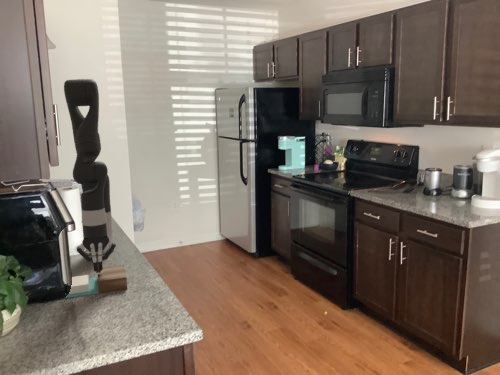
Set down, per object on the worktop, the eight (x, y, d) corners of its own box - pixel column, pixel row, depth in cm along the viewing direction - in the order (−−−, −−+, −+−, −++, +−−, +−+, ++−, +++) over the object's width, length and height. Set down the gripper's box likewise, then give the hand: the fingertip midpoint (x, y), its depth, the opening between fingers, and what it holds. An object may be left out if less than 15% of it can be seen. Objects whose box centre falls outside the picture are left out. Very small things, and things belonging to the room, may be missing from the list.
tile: (88, 274, 149) (88, 281, 150) (69, 277, 147) (70, 284, 148) (88, 284, 141) (88, 291, 141) (68, 287, 139) (69, 294, 139)
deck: (98, 278, 153) (97, 268, 152) (124, 275, 156) (123, 264, 155) (98, 292, 141) (97, 281, 140) (127, 288, 144) (126, 277, 143)
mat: (67, 282, 150) (67, 281, 150) (98, 278, 153) (98, 277, 153) (65, 298, 137) (65, 297, 137) (98, 293, 140) (98, 292, 140)
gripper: (114, 217, 149) (118, 265, 152) (73, 221, 145) (77, 271, 148) (115, 222, 142) (119, 273, 145) (72, 226, 138) (77, 278, 141)
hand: (98, 271), depth 146 cm, fingers closed
